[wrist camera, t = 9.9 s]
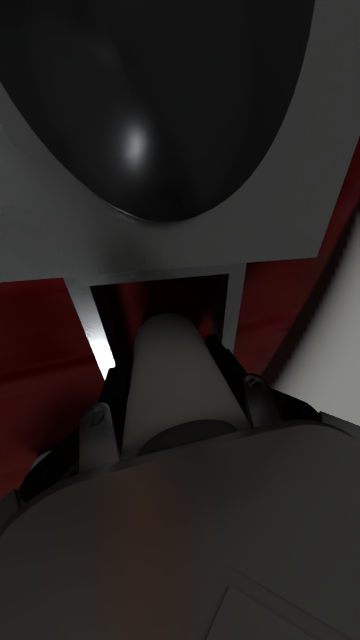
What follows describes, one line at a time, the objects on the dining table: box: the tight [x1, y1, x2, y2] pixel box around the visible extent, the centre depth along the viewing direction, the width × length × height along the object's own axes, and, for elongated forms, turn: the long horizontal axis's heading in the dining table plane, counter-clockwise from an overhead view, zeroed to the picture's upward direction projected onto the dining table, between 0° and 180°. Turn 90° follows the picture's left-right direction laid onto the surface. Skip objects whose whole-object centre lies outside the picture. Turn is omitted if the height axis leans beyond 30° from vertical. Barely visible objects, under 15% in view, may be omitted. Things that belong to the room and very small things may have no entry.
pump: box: [120, 313, 250, 461], centre depth 10 cm, size 7×6×9 cm
